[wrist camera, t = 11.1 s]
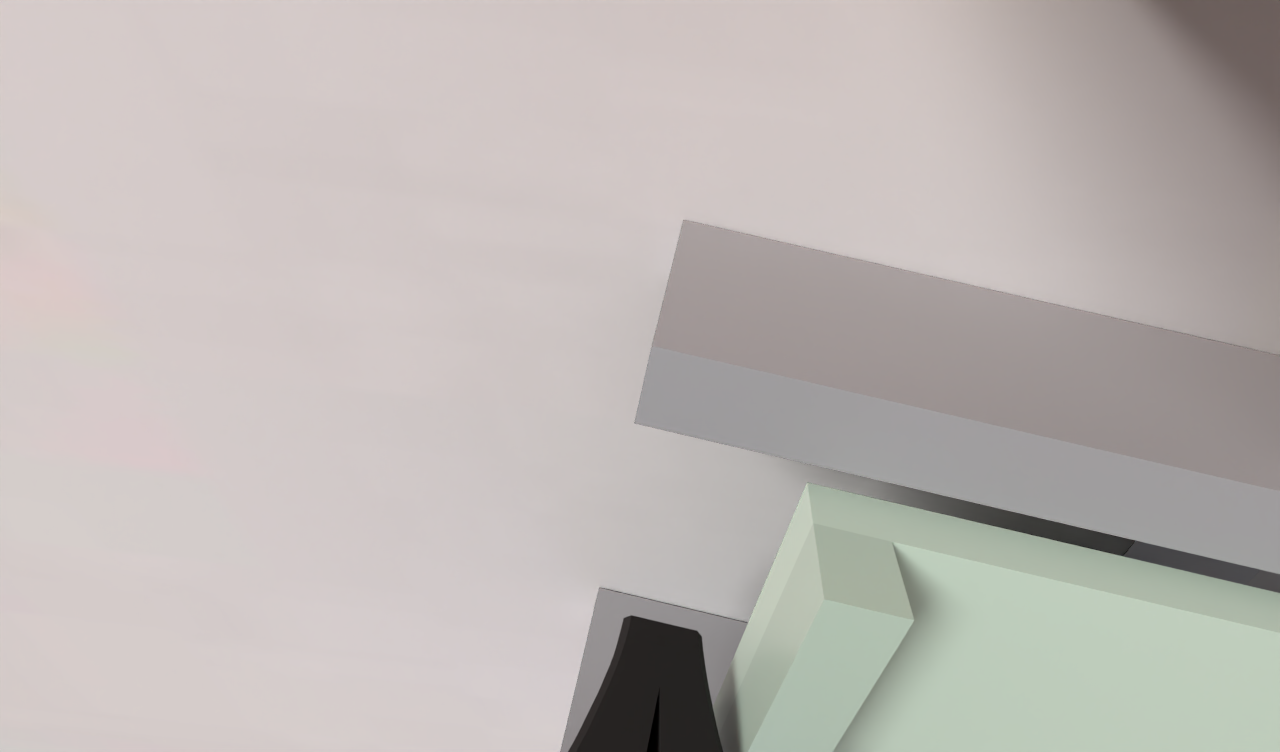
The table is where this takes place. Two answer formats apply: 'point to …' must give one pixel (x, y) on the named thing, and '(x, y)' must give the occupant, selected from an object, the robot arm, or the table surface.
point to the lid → (991, 644)
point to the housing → (957, 411)
